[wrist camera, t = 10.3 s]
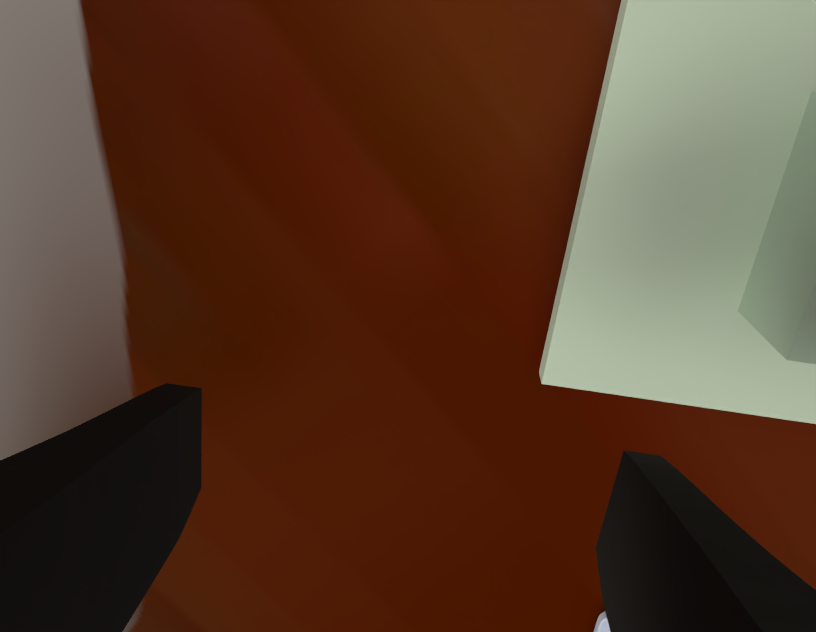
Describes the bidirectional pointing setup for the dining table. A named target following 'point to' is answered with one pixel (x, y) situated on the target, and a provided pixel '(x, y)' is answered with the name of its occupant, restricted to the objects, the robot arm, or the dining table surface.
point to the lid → (697, 214)
